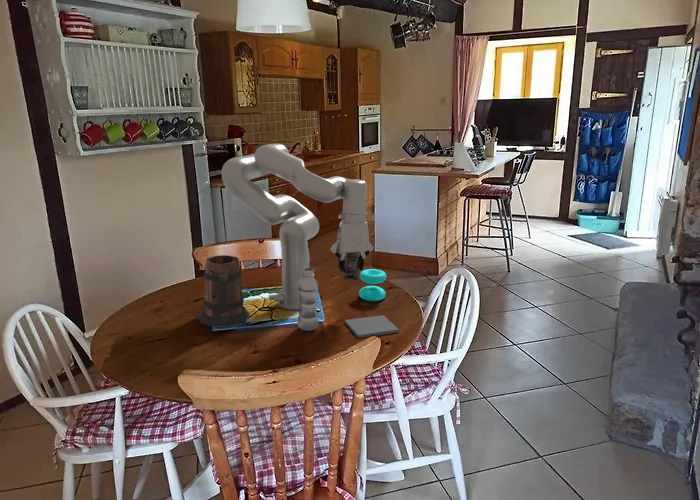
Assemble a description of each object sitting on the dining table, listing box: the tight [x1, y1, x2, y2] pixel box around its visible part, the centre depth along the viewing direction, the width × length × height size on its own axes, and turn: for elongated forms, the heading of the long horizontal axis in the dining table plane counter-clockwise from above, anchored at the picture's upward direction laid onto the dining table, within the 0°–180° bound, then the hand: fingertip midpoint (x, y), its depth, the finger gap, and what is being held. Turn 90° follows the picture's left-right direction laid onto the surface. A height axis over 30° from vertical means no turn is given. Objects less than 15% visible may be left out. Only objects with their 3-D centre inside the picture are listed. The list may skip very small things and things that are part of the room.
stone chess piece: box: [342, 252, 360, 281], centre depth 174 cm, size 6×6×12 cm
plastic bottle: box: [297, 267, 319, 332], centre depth 163 cm, size 6×7×20 cm
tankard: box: [198, 254, 251, 327], centre depth 168 cm, size 24×17×20 cm
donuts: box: [358, 268, 387, 302], centre depth 193 cm, size 10×10×10 cm
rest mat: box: [344, 314, 400, 339], centre depth 168 cm, size 14×12×1 cm
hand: (351, 269), depth 175 cm, fingers closed on stone chess piece, 5 cm apart
